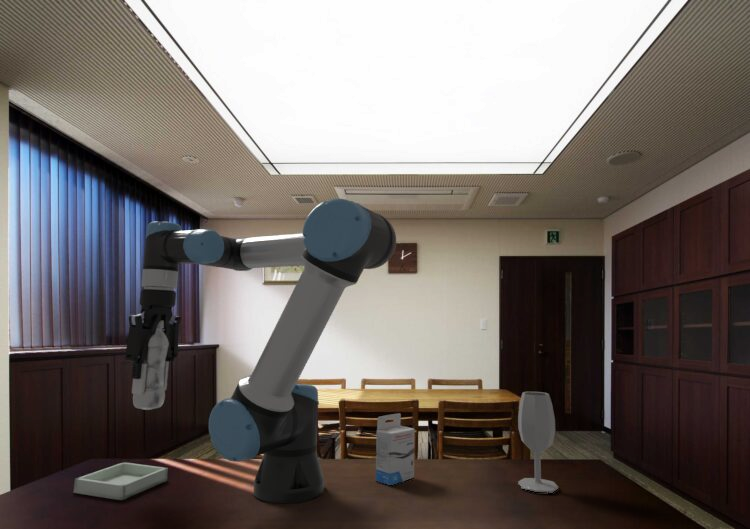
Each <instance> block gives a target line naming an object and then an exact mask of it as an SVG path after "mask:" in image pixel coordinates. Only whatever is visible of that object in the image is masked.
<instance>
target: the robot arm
mask: <svg viewBox="0 0 750 529" xmlns="http://www.w3.org/2000/svg"><path fill="white" fill-rule="evenodd" d="M396 247H397V236H396V232H395V229H394V227H393V225H392V223H391V222H390V221H389V220H388V219H387V218H386V217H384V216H383V215H381V214H379V213H377V212H374V211H372V210H371V209H369V208H367V207H365V206H363V205H362V204H360V203H357V202H355V201H352V200H348V199H345V198H331V199H327V200H325V201H322V202H321V203H319V204H317V205H316V206H315V207H314V208H313V209H312V210H311V211H310V212H309V214H308V215H307V216H306V219H305V221H304V223H303V227H302V232H296V233H288V234H287V233H286V234H285V233H284V234H276V235H275V234H274V235H264V236H261V235H260V236H253V237H251V236H250V237H243V238H233V237H228V236H223V235H220V234H219V233H218V231H216V230H214V229H204V228H198V229H191V230H190V229H189V230H183V229H182V226H181V225H180V224H178V223H175V222H171V221H159V220H158V221H157V220H156V221H155V220H154V221H151V222H150V223H148V224H147V227H146V233H145V238H144V253H143V265H142V276H141V283H140V284H141V287H142V288H143V289H141V290H140V293H139V294H140V296H139V305H140V306H141V309H140V312H139V313H138V314H136V315H135V314H130V315H129V316H128V322H129V329H128V337H127V343H126V348H125V356H124V361H126V362H128V363H130V364H132V370H131V379H132V386H131V394H140V395H142V394H144V390H145V379H146V368H147V364H143V363H144V361H145V357H146V354H147V351H148V343H149V340H150V338H151V337H152V335H153V334H155V332H156V329H157V326H158V323H159V322H160V320H164V328H163V332H164V333H165V335H166V336H167V338H168V341H169V347H168V351H167V355H166V360H165V366H164V390H165V391H167V388H168V376H169V374H170V369H171V368H170V366H171V362H174V361H175V359H176V358H178V356H179V355H178V354H179V336H180V334H179V332H180V324H181V320H182V316H180V315H176V314H175V315H174V314H173V309H172V308H173V307H175V306H176V298H177V292H176V289H177V288H178V280H179V278H178V277H179V264H187V265H189V264H190V265H191V264H192V265H199V266H200V265H201V266H206V267H207V266H209V267H214V268H223V269H229V270H233V271H236V272H238V271H239V272H247V271H248V272H249V271H251V270H253V269H260V268H280V267H281V268H282V267H284V268H285V267H301V266H302V267H304V268H303V270H302V273H301V274H300V275H299V278H298V280H297V281H296V282H297V283H296V284H295V286H294V288H293V290H292V292H291V295H290V296H289V298H288V300H287V302H286V304H285V306H284V308H283V310H282V312H281V314H280V316H279V317H278V320H277V322H276V324H275V326H274V329H273V330H272V333H271V335H270V337H269V339H268V340H267V342H266V345H265V346H264V348H263V351H262V353H261V354H260V357H259V359H258V360H257V363H256V365H255V366H254V369H253V371H252V373H251V374H249V375H245V376H243V377H241V378H240V380H239V381H238V383H237V385H236V387H235V389H234V391H233V392H232V395H231V396H230V397H229V398H223V399H222V400H221V401H219V402H217V403H216V404H215V405H214V406H213V408H212V409H211V412H210V414H209V418H208V433H209V435H210V441H211V443H212V445H213V447H214V449H215V451H216V452H217V453H218V454H219V455H220V456H221V457H223V458H224V459H226V460H227V461H230V462H237V463H238V462H239V463H240V462H243V461H246V460H247V461H250V460H252V459H254V458H256V457H258V456H261V455H262V458H261V461H260V463H259V467H258V469H257V472H256V476H255V478H254V481H253V495H254V497H256V498H257V499H258V500H261V501H263V502H268V503H275V504H293V503H295V504H296V503H301V502H306V501H309V500H312V499H315V498H318V497H319V496H320V495H322V494H323V492H324V490H325V488H324V486H325V485H324V484H325V479H324V474H323V471H322V468H321V465H320V461H319V457H318V452H317V450H318V448H317V447H318V446H317V445H318V419H319V405H320V402H319V392H318V388H317V387H316V386H314V385H311V384H302V383H300V384H299V383H298V381H299V379H300V377H301V375H302V373H303V372H304V369H305V367H306V364H307V363H308V361H309V359H310V357H311V355H312V354H313V351H315V350H314V349H315V348H316V346H317V344H318V342H319V340H320V337H321V336H322V334H323V332H324V331H325V328H326V327H327V325H328V322H329V321H330V318H331V317H332V315H333V312H334V310H335V308H336V307H337V304H338V303H339V301H340V298H341V297H342V295H343V293H344V291H345V289H346V288H348V287H350V286H353V285H357V283H358V281H359V279H360V277H361V275H362V274H363V272H364V269H365V270H373V269H376V268H379V267H381V266H384V265H385V264H386V263H387V262H388V261H389V260H391V258H392V256H393V255H394V253H395V250H396Z"/></svg>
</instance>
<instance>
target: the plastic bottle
mask: <svg viewBox="0 0 750 529" xmlns="http://www.w3.org/2000/svg"><path fill="white" fill-rule="evenodd" d="M163 328H164V320H160V322H159V323H158V326H157V329H156V332H155V334H153V335H152V337H151V338H150V340H149V343H148V351H147V354H146V357H145V361H144V363H143V364H147V368H146V379H145V390H144V394H142V395H140V394H133V395H132V403H133V404H132V405H133V406H134V408H136V409H138V410H139V409H140V410H145V411H150V410H155V409H158V408H161V407H162V406H163V405H164V402H165V399H166V393H165V392H166V390H164V366H165V360H166V355H167V351H168V347H169V341H168V338H167V336H166V335H165V333H164V332H163Z"/></svg>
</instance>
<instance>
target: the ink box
mask: <svg viewBox="0 0 750 529" xmlns="http://www.w3.org/2000/svg"><path fill="white" fill-rule="evenodd" d="M401 416H402V414H401V413H400V412H399V413H393V414H386V415H382V416H378V417H377V421H376V422H377V424H376V427H377V428H376V440H375V441H376V444H375V446H376V448H375V449H376V452H375V453H376V454H375V482H376V481H379V482H381V483H380V484H382V483H385V484H387V485H386V486H388V485H392V484H396V483H399V482H402V481H405V480H408V479H411V478H413V477H414V478H415V433H416V432H415V431H416V430H415V428H413V427H409V426H405V425H401V422H402V420H401V419H402V418H401ZM388 420H392V421H389V422H386V421H388ZM379 482H378V483H379ZM402 483H403V482H402ZM385 484H384V485H385ZM399 484H400V483H399ZM396 485H397V484H396Z"/></svg>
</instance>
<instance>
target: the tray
mask: <svg viewBox="0 0 750 529" xmlns="http://www.w3.org/2000/svg"><path fill="white" fill-rule="evenodd" d="M168 472H169V467H163V466H155V465H148V464H140V463H132V462H125V461H123V462H121V463H117V464H114V465H112V466H109V467H105V468H103V469H100V470H97V471H94V472H91V473H87V474H85V475H83V476H79V477H76V478H74V481H73V482H74V483H73V484H74V485H73V494H79V495H87V496H92V497H98V498H105V499H111V500H116V501H123V500H126V499H128V498H131V497H134V496H135V495H138V494H139V493H142V492H145V491H146V490H149V489H151V488H154V487H157V486H158V485H161V484H163V483H166V482H167V481H168Z"/></svg>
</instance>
